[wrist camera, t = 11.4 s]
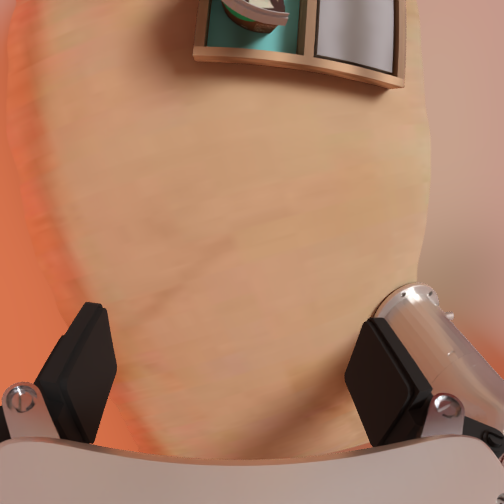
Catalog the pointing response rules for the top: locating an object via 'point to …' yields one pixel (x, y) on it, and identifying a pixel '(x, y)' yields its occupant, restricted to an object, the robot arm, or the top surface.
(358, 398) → the robot arm
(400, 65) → the compartment tray
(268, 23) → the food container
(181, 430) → the top surface
